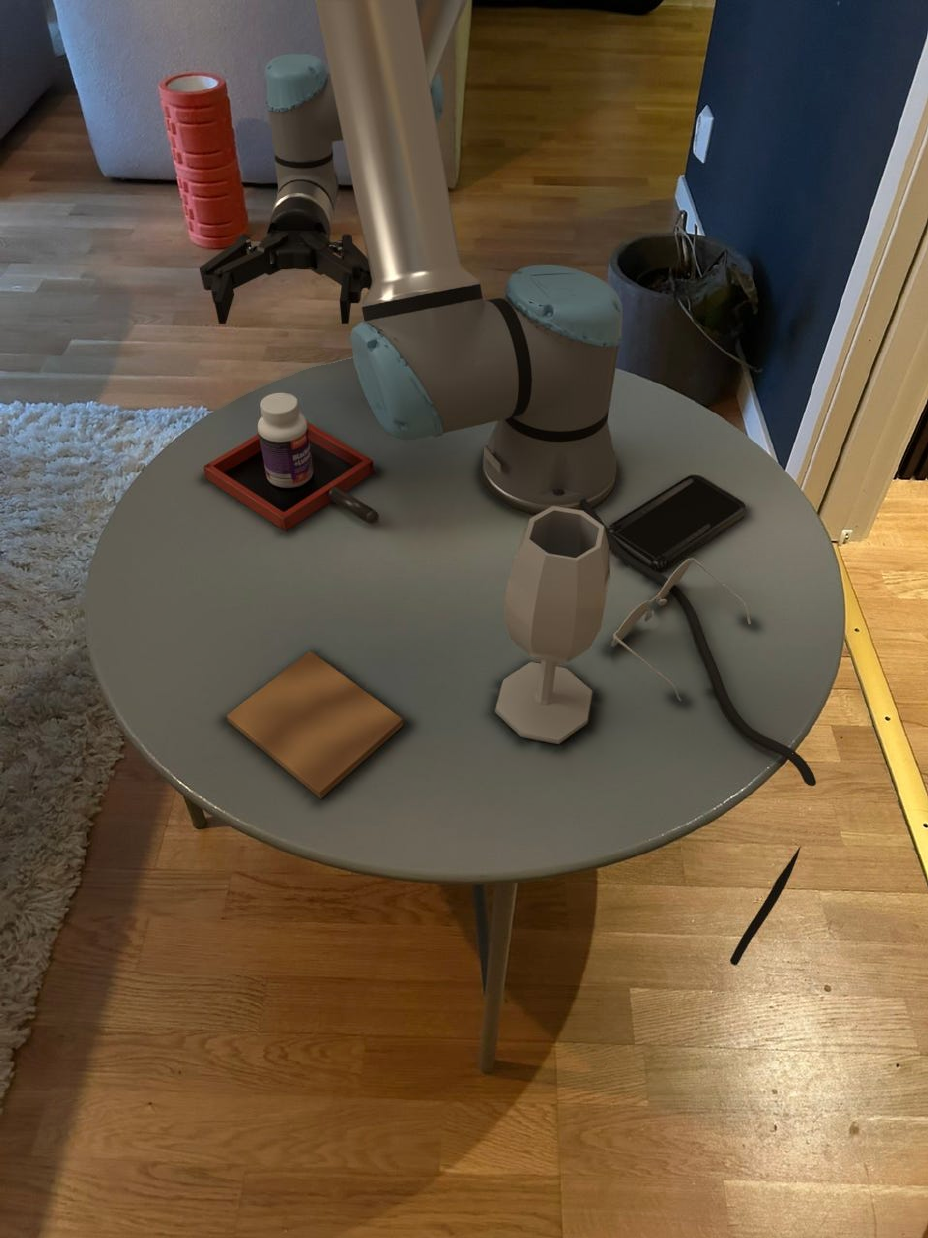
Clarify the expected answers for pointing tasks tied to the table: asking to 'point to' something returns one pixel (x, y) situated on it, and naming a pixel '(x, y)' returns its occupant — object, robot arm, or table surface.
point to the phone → (676, 522)
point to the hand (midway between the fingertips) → (282, 312)
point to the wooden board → (315, 723)
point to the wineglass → (554, 621)
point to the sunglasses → (642, 608)
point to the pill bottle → (284, 441)
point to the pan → (289, 506)
